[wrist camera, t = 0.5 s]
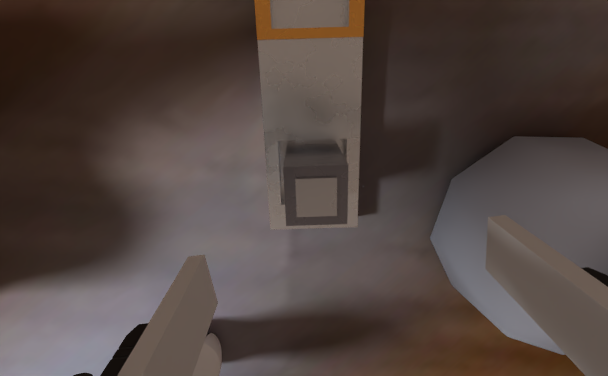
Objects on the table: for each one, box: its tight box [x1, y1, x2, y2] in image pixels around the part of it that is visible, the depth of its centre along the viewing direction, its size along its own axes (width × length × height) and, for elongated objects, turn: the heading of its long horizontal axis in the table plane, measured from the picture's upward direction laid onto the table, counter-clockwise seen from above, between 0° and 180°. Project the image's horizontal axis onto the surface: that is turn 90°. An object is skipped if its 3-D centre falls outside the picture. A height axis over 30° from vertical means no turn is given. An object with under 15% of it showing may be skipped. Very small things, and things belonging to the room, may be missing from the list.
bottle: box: [430, 136, 608, 355], centre depth 28 cm, size 20×20×19 cm
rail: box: [254, 0, 365, 230], centre depth 30 cm, size 9×28×3 cm, turn 2°
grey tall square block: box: [283, 143, 348, 226], centre depth 30 cm, size 5×5×8 cm
